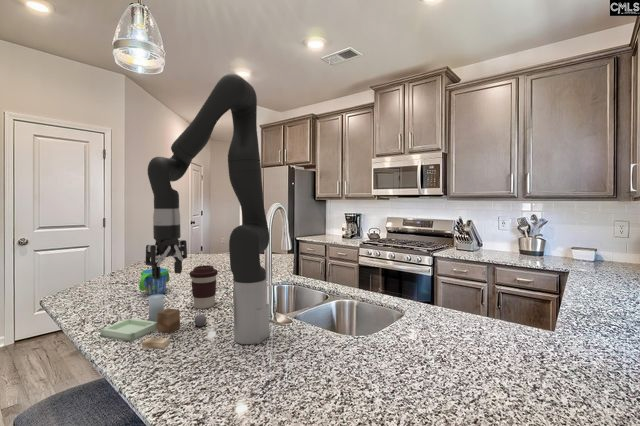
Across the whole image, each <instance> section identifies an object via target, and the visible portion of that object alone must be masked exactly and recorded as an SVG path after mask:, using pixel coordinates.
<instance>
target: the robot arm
mask: <svg viewBox="0 0 640 426" xmlns="http://www.w3.org/2000/svg"><path fill="white" fill-rule="evenodd" d="M257 104H258V98H257V92H256V90H255V88H254V86H252V84H250V83H249V81H247V80H245V78H244V77H242V76H240V75H238V74H236V73H227V74H225V75H223V76H222V77H221V78H220V79H219V80H218V81H217V82H216V84H215V86H214V88H212V91H210V94H209V96H208V97H207V99H206V100H205V101H204V102H203V105H202V106H201V108H200V110H199V111H198V113H197V114H196V116H195V117H194V118H193V119H192V121H191V122H190V124H188V126H187V127H186V128H185V129H184V130H183V132H182V133H180V135H179V136H178V137H177V138H176V139H175V140H174V142H172V144H171V146H170V150H171V152H172V156H170V157H165V156H155V157H153V158H151V160H150V161H149V162H148V165H147V178H148V181H149V184H150V187H151V191H152V193H153V214H152V223H153V224H152V225H153V227H152V228H153V229H152V230H153V231H152V232H153V233H152V234H153V239H154V240H155V242H154V244H146V246H145V266H150V267H151V269H152V277H153V279H157V280H158V279H160V278H161V270H160V268H161V264H162V263H163V261H164V260H165V259H166V258H168V257H171V258H173V260H174V262H173V265H174V269H173V270H174V274H182V272H183V271H182V270H183V261H184V260H186V259H188V247H187V240H186V239H180V238H181V236H182V235H181V233H182V232H181V211H180V193H179V191H178V190H176V189H174V188H173V187H172V185H171V183H172V182H176V181H177V182H178V181H179V180H180V179H182V177H184V175H185V174H186V173H187V171H188V169H189V167H190V165H191V163H192V161H193V160H194V158H196V157H197V155H198V154H199V153H200V152H201V151H202V150H203V149H204V148H205V147H206V145H207V144H208V142H209V141H210V138H211V136H212V133H213V131H214V129H215V127H216V124H217V122H218V121H219V120H220V119H221V117H222V116H223V115H225V114H226V113H227V112H229V110H230V112H231V117H232V126H233V131H232V132H233V133H232V137H231V138H232V139H231V141H230V144H229V148H228V154H227V167H228V168H227V169H228V176H229V182H230V184H231V187H232V190H233V192H234V194H235V197H236V198H237V201H238V202H239V206H240V209H241V215H242V224H241V225H238V226H236V227H234V229H232V231H231V233H230V235H229V241H228V252H229V266H230V272H231V273H232V276H233V277H232V279H233V281H232V282H233V335H234V336H233V339H234V342H236V343H237V344H241V345H254V344H256V345H257V344H258V345H260V344H261V343H262V342H263V341H264V340H266V339H267V338H268V337H269V336H270V305H269V303H267V270H266V268H264V267H262V265H261V258H260V257H261V255H260V254H261V253H263V252H264V251H266V250H267V248H268V246H269V244H270V230H269V227H268V226H269V225H268V221H267V215H266V210H265V205H264V190H263V179H262V165H261V156H260V148H259V136H258V131H257V129H258V127H257V126H258V125H257V119H258V118H257V110H258V109H257V107H258V105H257Z"/></svg>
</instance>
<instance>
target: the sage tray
mask: <svg viewBox="0 0 640 426" xmlns="http://www.w3.org/2000/svg"><path fill="white" fill-rule="evenodd" d="M154 330H155V331H157V322H153V321H149V320H146V319H139V318H133V317H128V318H126V319H124V320H121V321H118V322H116V323H113V324H111V325H108V326H106V327H103V328H101V329H100V331H99V332H100V334H99V335H100V337H105V338H110V339H114V340H115V339H116V340H120V341H126V342H133V341H136V340H137V339H140V338H141V337H143V336H144V337H145V336H146V335H148V334H150V332H151V333H152V331H153V332H154Z"/></svg>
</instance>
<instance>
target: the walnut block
mask: <svg viewBox="0 0 640 426" xmlns="http://www.w3.org/2000/svg"><path fill="white" fill-rule="evenodd" d="M180 312H181V310H180V309H176V308H166V309H165V308H164V310H163V311H161V312H158V313H157V330H156V331H157V333H159V332H162V333H161V334H165V333H168V334H167V335H170V334H172V333H174V332H176V331H178V330H180V329H181V313H180Z"/></svg>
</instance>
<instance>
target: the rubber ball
mask: <svg viewBox="0 0 640 426" xmlns="http://www.w3.org/2000/svg"><path fill="white" fill-rule="evenodd" d="M206 323H207V317H206V315H205V314H197V316H196V317H195V318H194V324H195V325H196V326H197V327H203V326H205V324H206Z"/></svg>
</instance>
